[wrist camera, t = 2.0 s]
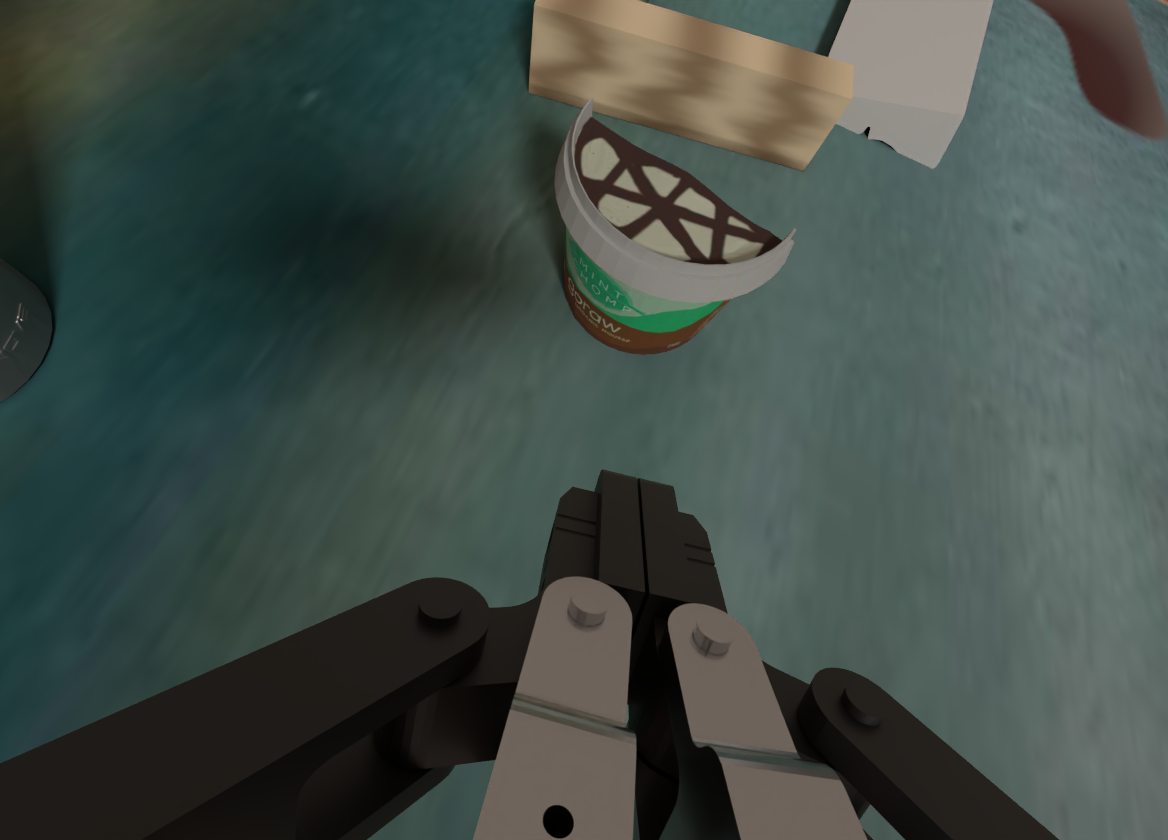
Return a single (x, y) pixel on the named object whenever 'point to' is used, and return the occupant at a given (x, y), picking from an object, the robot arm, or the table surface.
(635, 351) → the food container
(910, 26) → the grey long flat block
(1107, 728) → the table surface
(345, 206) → the table surface
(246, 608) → the table surface
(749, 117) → the light wooden block
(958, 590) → the table surface
